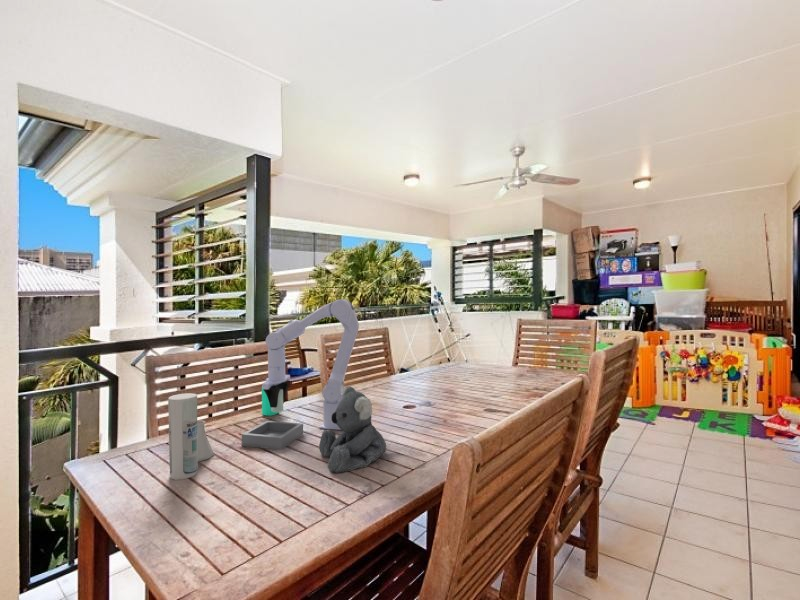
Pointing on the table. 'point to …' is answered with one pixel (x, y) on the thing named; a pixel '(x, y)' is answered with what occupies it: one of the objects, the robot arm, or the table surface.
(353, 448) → the koala plush
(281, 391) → the cylinder
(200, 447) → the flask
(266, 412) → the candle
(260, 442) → the bin
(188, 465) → the spray can
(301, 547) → the table surface
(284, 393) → the robot arm
